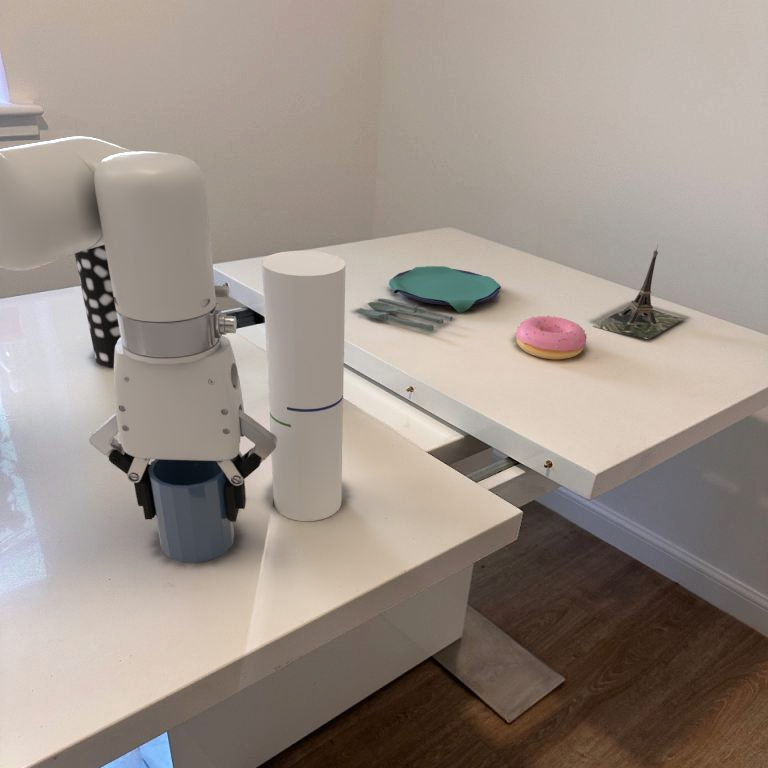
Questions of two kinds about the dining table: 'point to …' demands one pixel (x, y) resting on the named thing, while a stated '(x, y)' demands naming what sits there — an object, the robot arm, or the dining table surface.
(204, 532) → the mug
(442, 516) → the dining table surface
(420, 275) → the cutlery set
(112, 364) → the white-spotted black cylinder
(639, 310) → the eiffel tower figurine
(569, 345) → the doughnut
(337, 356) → the cylindrical container
